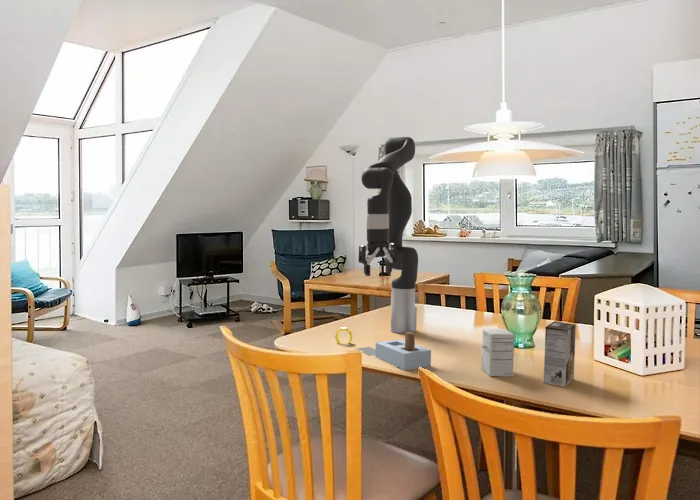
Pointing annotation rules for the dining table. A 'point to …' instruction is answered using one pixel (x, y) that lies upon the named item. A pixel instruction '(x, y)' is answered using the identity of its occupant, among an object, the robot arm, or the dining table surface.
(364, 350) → the mat
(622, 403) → the dining table surface
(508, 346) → the supplement box
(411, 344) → the dowel
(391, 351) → the hole block
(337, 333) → the watch
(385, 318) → the dining table surface
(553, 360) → the coffee box
